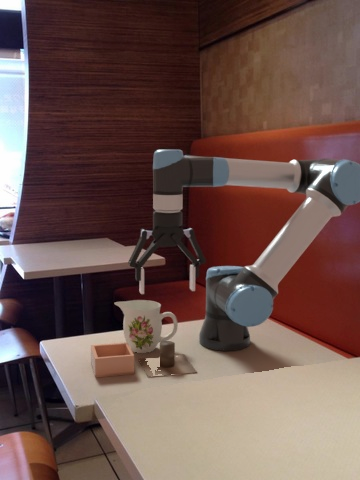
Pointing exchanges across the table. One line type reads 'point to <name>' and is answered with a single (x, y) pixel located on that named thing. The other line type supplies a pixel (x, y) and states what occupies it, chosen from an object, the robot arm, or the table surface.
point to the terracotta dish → (112, 359)
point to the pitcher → (144, 324)
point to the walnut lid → (169, 362)
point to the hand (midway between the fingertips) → (167, 291)
